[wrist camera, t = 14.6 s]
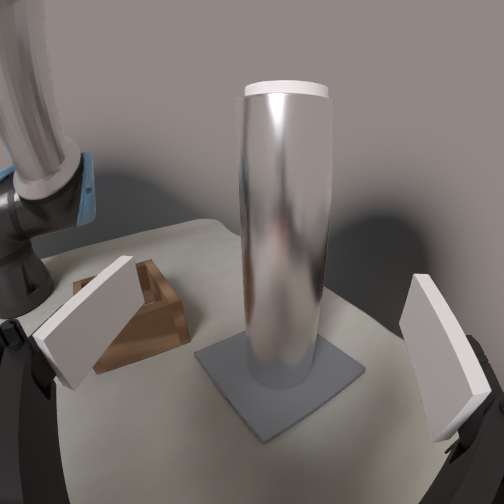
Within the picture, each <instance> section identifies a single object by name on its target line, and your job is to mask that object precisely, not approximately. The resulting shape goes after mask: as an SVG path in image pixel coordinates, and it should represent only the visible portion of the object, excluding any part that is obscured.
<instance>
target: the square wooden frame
mask: <svg viewBox="0 0 504 504" xmlns="http://www.w3.org/2000/svg"><path fill="white" fill-rule="evenodd" d="M135 265H136V270H137V274H138V278H139V282H140V286H141V290H142V294H143V297H144V301H145V303H144V304H147V303H150V302H153V301H154V302H155V303H152V304H149V305H146V306H143V307H140V309H139V310H138V311H137V312H136V313H135V315H134V316H133V317H132V318H131V319H130V321H129V322H128V323H127V324H126V325H125V327H124V328H123V329H122V330H121V332H120V333H119V334H118V335H117V337H116V338H115V339H114V340H113V342H112V343H111V344H110V345H109V347H108V348H107V349H106V350H105V352H104V353H103V354H102V355H101V357H100V358H99V359H98V361H97V362H96V363H95V364H94V366H93V369H94V370H95V372H96V374H100V373H104V372H107V371H110V370H113V369H116V368H119V367H122V366H125V365H128V364H131V363H134V362H136V361H139V360H142V359H145V358H148V357H151V356H153V355H156V354H159V353H162V352H164V351H167V350H170V349H172V348H175V347H178V346H180V345H183V344H186V343H188V342H190V340H189V336H188V331H187V327H186V322H185V317H184V313H183V308H182V303H181V300H180V298H179V297H178V296H177V294H176V293H175V292H174V290H173V289H172V288H171V286H170V285H169V283H168V282H167V281H166V279H165V278H164V276H163V275H162V274H161V272H160V271H159V269H158V268H157V267H156V265H155V264H154V262H153V261H152V259H151V260H147V261H144V262H140V263H137V264H135ZM96 276H97V275H96ZM96 276H93V277H90V278H86V279H83V280H80V281H77V282H73V296H74V295H75V294H77V293H78V292H79V291H80V290H81V289H82V288H83V287H85V286H86V285H87V284H88V283H89V282H90V281H92V280H93V279H94V278H95V277H96ZM144 304H143V305H144Z"/></svg>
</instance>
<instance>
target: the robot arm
mask: <svg viewBox="0 0 504 504" xmlns="http://www.w3.org/2000/svg"><path fill="white" fill-rule="evenodd" d="M0 139H1V142H2V144H3V146H4V148H5V150H6V152H7V154H8V157H9V159H10V160H11V163H12V164H13V165H12V166H9V167H7V168H4V169H2V170H0V318H1V319H9V320H7V321H5V322H3V323H2V324H1V325H0V504H70V502H69V498H68V493H67V489H66V484H65V479H64V474H63V468H62V462H61V455H60V447H59V437H58V426H57V408H56V383H55V381H54V380H53V379H54V378H55V376H57V377H58V379H59V380H60V382H61V383H62V384H63V385H64V386H66V387H68V388H70V389H72V390H74V391H75V390H76V388H77V387H78V386H79V384H80V383H81V382H82V380H83V379H84V378H85V376H86V375H87V374H88V372H89V371H90V370H91V368H92V367H93V366H94V364H95V363H96V362H97V361H98V359H99V358H100V357H101V355H102V354H103V353H104V352H105V350H106V349H107V348H108V347H109V345H110V344H111V343H112V342H113V340H114V339H115V338H116V337H117V335H118V334H119V333H120V332H121V330H122V329H123V328H124V327H125V325H126V324H127V323H128V322H129V321H130V319H131V318H132V317H133V316H134V315H135V313H136V312H137V311H138V310H139V309H140V307H141V306H142V305H143V304H144V303H145V301H144V297H143V294H142V290H141V286H140V282H139V278H138V274H137V270H136V265H135V261H134V256H121V257H119V258H118V259H117V260H116V261H114V262H113V263H112V264H111V265H110V266H108V267H107V268H106V269H105V270H103V271H102V272H101V273H100V274H99V275H97V276H96V277H95V278H94V279H93V280H92V281H90V282H89V283H88V284H87V285H86V286H85V287H83V288H82V289H81V290H80V291H79V292H78V293H77V294H75V295H74V296H73V297H72V298H71V299H70V300H69V301H68V302H67V303H65V304H64V305H62V306H61V307H60V308H59V309H58V310H56V311H55V314H54V313H53V314H52V315H51V316H50V317H49V319H47V320H46V321H45V322H44V323H43V324H42V325H41V326H40V327H39V328H38V329H36V330H35V331H34V332H33V333H32V334H31V335H30V336H29V337H27V336H26V334H25V332H24V330H23V328H22V326H21V324H20V322H19V321H18V319H10V318H14V317H18V316H20V315H23V314H25V313H27V312H29V311H30V310H32V309H34V308H35V307H37V306H38V305H39V304H41V303H42V302H43V301H44V300H45V299H46V298H47V297H48V295H49V294H50V293H51V291H52V289H53V281H52V278H51V275H50V273H49V271H48V269H47V268H46V267H45V265H44V264H43V262H42V261H41V259H40V258H39V256H38V255H37V253H36V252H35V251H34V249H33V246H32V242H31V239H30V238H33V237H37V236H41V235H45V234H48V233H52V232H57V231H60V230H65V229H69V228H77V227H78V226H79V225H83V224H86V223H89V222H91V221H92V220H93V219H94V217H95V213H96V207H95V186H94V167H93V156H92V154H91V153H90V152H82V153H80V149H79V147H78V145H77V143H76V142H74V141H73V140H72V139H69V138H66V137H65V133H64V130H63V126H62V122H61V118H60V114H59V110H58V105H57V101H56V96H55V91H54V86H53V80H52V75H51V68H50V62H49V53H48V46H47V34H46V19H45V0H0ZM399 325H400V327H401V330H402V333H403V336H404V339H405V342H406V345H407V348H408V352H409V355H410V358H411V361H412V365H413V368H414V371H415V375H416V378H417V382H418V386H419V390H420V393H421V397H422V401H423V406H424V410H425V414H426V419H427V423H428V428H429V433H430V439H431V443H434V442H439V441H444V440H448V439H450V438H451V437H452V436H453V435H454V434H455V433H456V432H457V431H458V433H459V438H458V439H457V440H456V441H455V442H454V443H453V444H452V445H451V446H450V447H449V448H448V449H447V450H446V451H445V453H446V454H447V453H448V452H449V451H450V450H451V452H450V454H449V456H448V457H447V459H446V461H445V463H444V465H443V466H442V468H441V470H440V472H439V473H438V475H437V477H436V478H435V480H434V481H433V483H432V485H431V486H430V488H429V489H428V491H427V492H426V494H425V495H424V497H423V498H422V500H421V501H420V502H419V504H504V393H503V391H502V389H501V387H500V385H499V382H498V380H497V378H496V376H495V374H494V372H493V369H492V367H491V365H490V363H488V359H487V357H486V355H484V352H483V350H482V348H481V346H480V344H479V343H478V342H477V341H476V340H475V339H474V338H473V337H472V336H471V335H465V334H464V332H463V331H462V329H461V327H460V325H459V323H458V322H457V320H456V318H455V316H454V315H453V313H452V311H451V310H450V308H449V306H448V305H447V303H446V301H445V300H444V298H443V296H442V295H441V293H440V292H439V290H438V289H437V287H436V286H435V284H434V283H433V281H432V279H431V278H430V277H429V275H428V274H414V275H413V279H412V283H411V286H410V290H409V293H408V297H407V300H406V303H405V307H404V310H403V313H402V316H401V320H400V322H399Z"/></svg>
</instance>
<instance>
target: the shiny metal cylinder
mask: <svg viewBox="0 0 504 504" xmlns="http://www.w3.org/2000/svg"><path fill="white" fill-rule="evenodd" d="M236 117H237V118H236V119H237V147H238V174H239V175H238V176H239V199H240V223H241V247H242V269H243V289H244V309H245V328H246V346H247V364H248V371H249V373H250V375H251V376H252V378H253V379H254V380H255V381H256V382H258V383H259V384H261V385H263V386H266V387H269V388H275V389H284V388H290V387H293V386H296V385H298V384H299V383H301V382H303V380H304V379H305V378H306V377H307V376H308V374H309V372H310V370H311V365H312V359H313V353H314V347H315V341H316V335H317V328H318V322H319V315H320V308H321V300H322V292H323V284H324V275H325V266H326V256H327V246H328V235H329V221H330V207H331V188H332V163H333V101H332V100H331V99H329V98H328V88H327V87H326V86H324V85H321V84H317V83H312V82H304V81H290V80H288V81H287V80H283V81H264V82H259V83H254V84H250V85H248V86H246V87H245V96H243V97H240V98H238V99H236Z"/></svg>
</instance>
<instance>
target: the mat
mask: <svg viewBox="0 0 504 504" xmlns="http://www.w3.org/2000/svg"><path fill="white" fill-rule="evenodd" d="M194 354H195V357H196V359H197V360H198V361H199V363H200V364H201V366H202V367H203V368H204V370H205V371H206V373H207V374H208V375H209V377H210V378H211V379H212V381H213V382H214V383H215V385H216V386H217V387H218V389H219V390H220V391H221V393H222V394H223V395H224V397H225V398H226V399H227V400H228V402H229V403H230V404H231V406H232V407H233V408H234V409H235V411H236V412H237V413H238V414H239V415H240V417H241V418H242V419H243V420H244V422H245V423H246V424H247V425H248V426H249V427H250V429H251V430H252V431H253V432H254V433H255V434H256V436H257V437H258V438H259V439H260V440H261V441H262V442H263V444H265V443H267V442H268V441H270V440H272V439H273V438H275V437H277V436H278V435H280V434H281V433H283V432H285V431H286V430H288V429H289V428H291V427H292V426H294V425H295V424H297V423H298V422H300V421H301V420H303V419H304V418H306V417H307V416H309V415H310V414H311V413H313V412H314V411H316V410H317V409H318V408H320V407H321V406H323V405H324V404H325V403H327V402H328V401H329V400H331V399H332V398H333V397H334V396H336V395H337V394H338V393H340V392H341V391H342V390H343V389H345V388H346V387H347V386H348V385H350V384H351V383H352V382H353V381H354V380H356V379H357V378H358V377H359V376H360V375H361V374H363V373H364V372H365V369H366V368H365V367H363V366H362V365H360V364H359V363H357V362H356V361H355V360H353V359H352V358H350V357H349V356H348V355H346V354H345V353H343V352H342V351H341V350H339V349H338V348H336V347H335V346H334V345H332V344H331V343H329V342H328V341H327V340H325V339H324V338H322V337H321V336H320V335H318V334H317V335H316V341H315V347H314V353H313V359H312V365H311V370H310V372H309V374H308V376H307V377H306V378H305V379H304V380H303V382H301V383H299V384H298V385H296V386H293V387H290V388H284V389H275V388H269V387H266V386H263V385H261V384H259V383H258V382H256V381H255V380H254V379H253V378H252V376H251V375H250V373H249V371H248V364H247V346H246V331H244V332H242V333H239V334H237V335H235V336H233V337H230V338H228V339H226V340H223V341H221V342H219V343H216V344H214V345H211V346H209V347H207V348H204V349H202V350H199V351H197V352H194Z"/></svg>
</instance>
